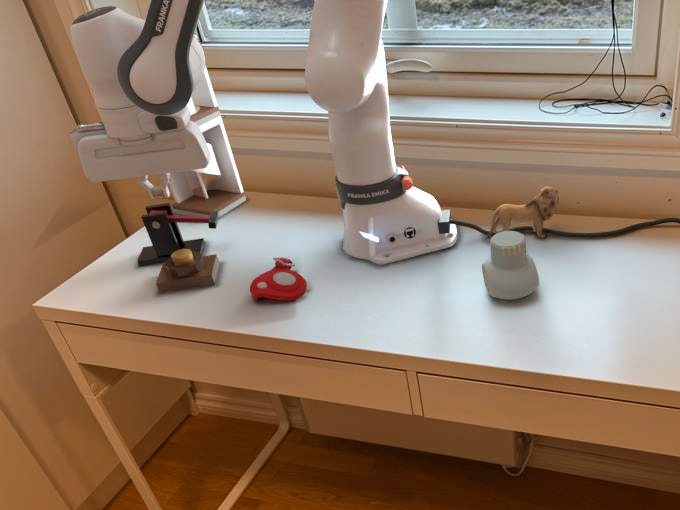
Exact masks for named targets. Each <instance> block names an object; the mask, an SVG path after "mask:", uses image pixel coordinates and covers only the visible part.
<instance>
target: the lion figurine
mask: <svg viewBox="0 0 680 510" xmlns="http://www.w3.org/2000/svg"><path fill="white" fill-rule="evenodd" d="M558 193H559V189H558V188H556V187H553V186H550V185H549V186H544V187H542V188H541V189H539V193H538V194H537V195H536V196H535V197H533V199H532V200H530V201H529V202H528V203H526V204H511V203H504V204H501V205H499V206H498V207H497V208H496V209H495V210H494V212H493V215H492V218H491V223H490V230H489V231H490V232H489V234H488V235H486V236H485V239H486V240H489V239H491V238H492V236H491V235H492V232H493V233H496V234H497V232H498V231H499V230H497V229H498V228H499V226H501V225H502V231H508V230H509V229H510V227H511V224H512V221H514V222H515V223H517V224H522V225H526V224H532V226H533V227H532V228H533V229H534V230H533V232H534V233H536V234H537V237H538V238H540V239H544V238H545V237H546V234H545V233H544V232H542V229H543V228H544V222H545V221H547V220H550V219H551V218H552V217H553V215H554V213H555V212H556V210H557V209H558V206H559V203H560V197H559V194H558Z"/></svg>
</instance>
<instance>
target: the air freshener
mask: <svg viewBox="0 0 680 510" xmlns="http://www.w3.org/2000/svg"><path fill="white" fill-rule="evenodd" d="M502 231H503V230H502ZM489 246H490V257H488V258H487V259H485V261H484V262H483V263H482V264H481V271H482V277H483V282H484V286H485V288H486V291H487V294H488V295H489V296H491V297H493V298H496V299H500V300H506V301H507V300H508V301H510V300H518V299H522V298H524V297H527V296H529V295H531V294H532V293H534V292H535V291H536V290H537V289H538V287H539V285H540V278H539V273H538V270H537V269H538V268H537V265H536V263H535V261H534V259H533V257H532V256H530V255H529V254H527V238H526V236H525V235H524V234H523V233H521V232H520V231H518V232H516V231H503V232H499V233H497V234H495V235H494V236H491V237H490V240H489Z"/></svg>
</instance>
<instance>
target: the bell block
mask: <svg viewBox="0 0 680 510" xmlns="http://www.w3.org/2000/svg"><path fill="white" fill-rule="evenodd" d="M191 252H192V254H193V257H194V261H192V262H191V263H189V264H186V265H182V266H175V265H174V262H173V260H172V257H171V258H169V259H168V260H167V261H166V262H163V263H162V265H161V267H160V270H159V273H158V276H157V279H156V281H155V286H156V288H157V290H158V293H159V294H165V293H166V294H167V293H172V292H178V291H184V290H185V291H186V290H191V289H192V290H193V289H197V288H205V287H209V286H215V285H216V284H217V280H218V279H217V278H218V274H219V271H220V266H221V263H220V260H219V257H218V254H216V253H215V254H209V255H203V254H202V255H201V254H200V253H199V252H194V251H191Z"/></svg>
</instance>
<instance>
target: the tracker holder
mask: <svg viewBox="0 0 680 510" xmlns="http://www.w3.org/2000/svg"><path fill="white" fill-rule="evenodd" d="M272 259H273V261H275V262H274V267H272V268H271V269H270V270H267V271H264V272H263V273H261V274H259V275H258V276H256V277H255V278H254V279H252V282H251V283H250V285H249V294H250V295H251V297H252V298H253V300H255V301H256V300H259V299H261V298H267V299H271V300H276V301H287V302H288V301H295V300H297V299H300V298H301V297H303V296H304V295H305V293H306V292H307V288H308V287H307V286H308V283H307V281H306V279H305V277H304V276H302V275H301V274H300V273H299V272H297V271H295V270H293V269H292V267H296V264H295V263H294V262H293V261H292V260H291V259H290V258H289V257H282V256H281V257H273V258H272Z"/></svg>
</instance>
